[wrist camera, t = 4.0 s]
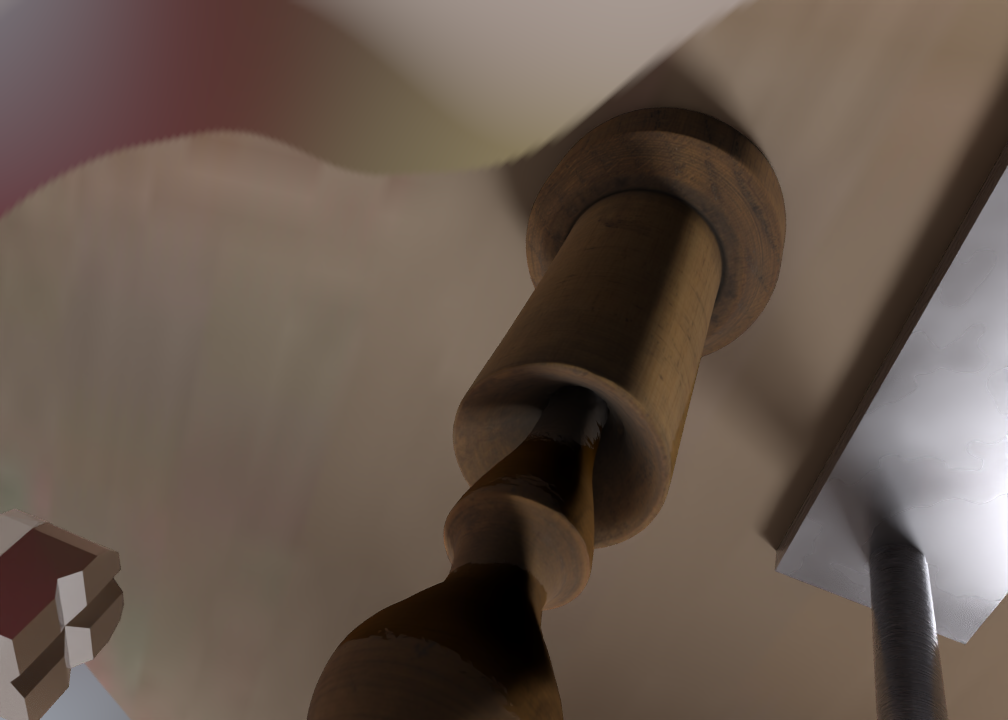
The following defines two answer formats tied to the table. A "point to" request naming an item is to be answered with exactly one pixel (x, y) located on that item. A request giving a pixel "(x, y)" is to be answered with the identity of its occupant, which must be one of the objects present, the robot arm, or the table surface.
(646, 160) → the wooden turned spindle
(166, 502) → the table surface
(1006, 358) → the retort stand
